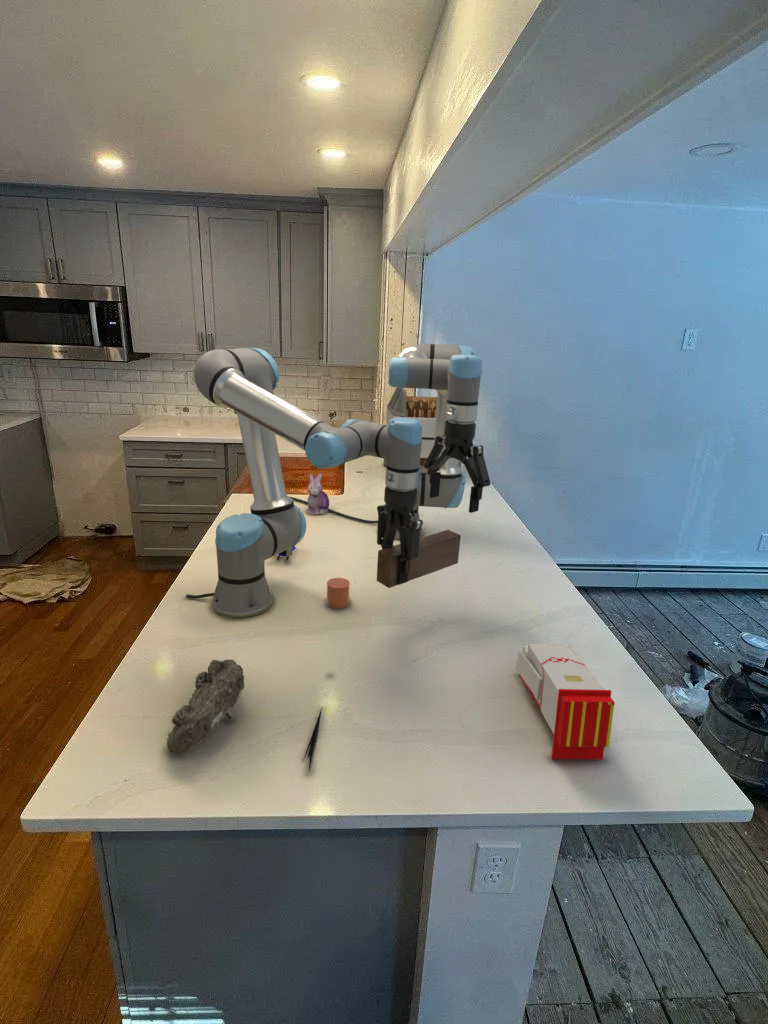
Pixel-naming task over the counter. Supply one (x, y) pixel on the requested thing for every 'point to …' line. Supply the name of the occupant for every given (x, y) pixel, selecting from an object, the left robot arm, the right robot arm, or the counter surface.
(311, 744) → the feather
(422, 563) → the beam
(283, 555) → the figurine character
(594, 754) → the toy
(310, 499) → the figurine
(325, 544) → the counter surface
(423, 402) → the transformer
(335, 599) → the orange clay cylinder
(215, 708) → the fossil
